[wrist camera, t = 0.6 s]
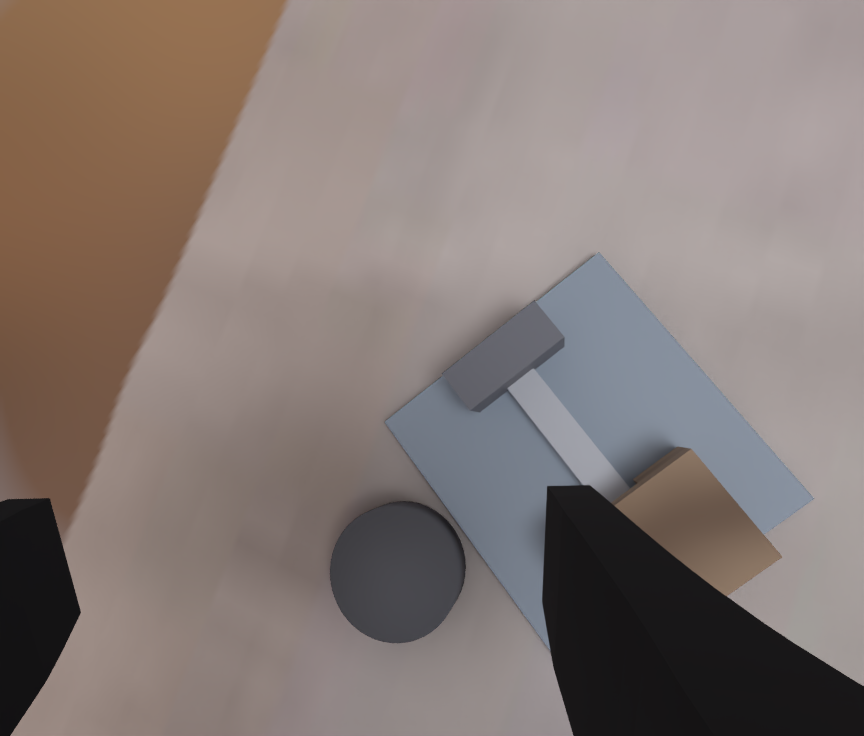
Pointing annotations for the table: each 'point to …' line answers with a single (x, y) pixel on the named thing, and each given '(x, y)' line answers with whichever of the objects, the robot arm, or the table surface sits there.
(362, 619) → the dark gray cylinder
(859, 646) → the table surface
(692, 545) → the block
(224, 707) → the table surface
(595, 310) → the board
